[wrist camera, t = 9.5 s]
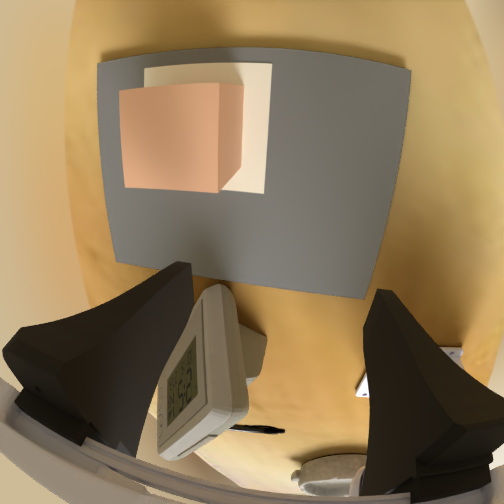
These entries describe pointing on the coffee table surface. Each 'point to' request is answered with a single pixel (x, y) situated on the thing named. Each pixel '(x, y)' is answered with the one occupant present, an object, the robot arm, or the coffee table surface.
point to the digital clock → (207, 376)
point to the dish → (329, 475)
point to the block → (181, 136)
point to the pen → (257, 429)
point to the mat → (268, 169)
